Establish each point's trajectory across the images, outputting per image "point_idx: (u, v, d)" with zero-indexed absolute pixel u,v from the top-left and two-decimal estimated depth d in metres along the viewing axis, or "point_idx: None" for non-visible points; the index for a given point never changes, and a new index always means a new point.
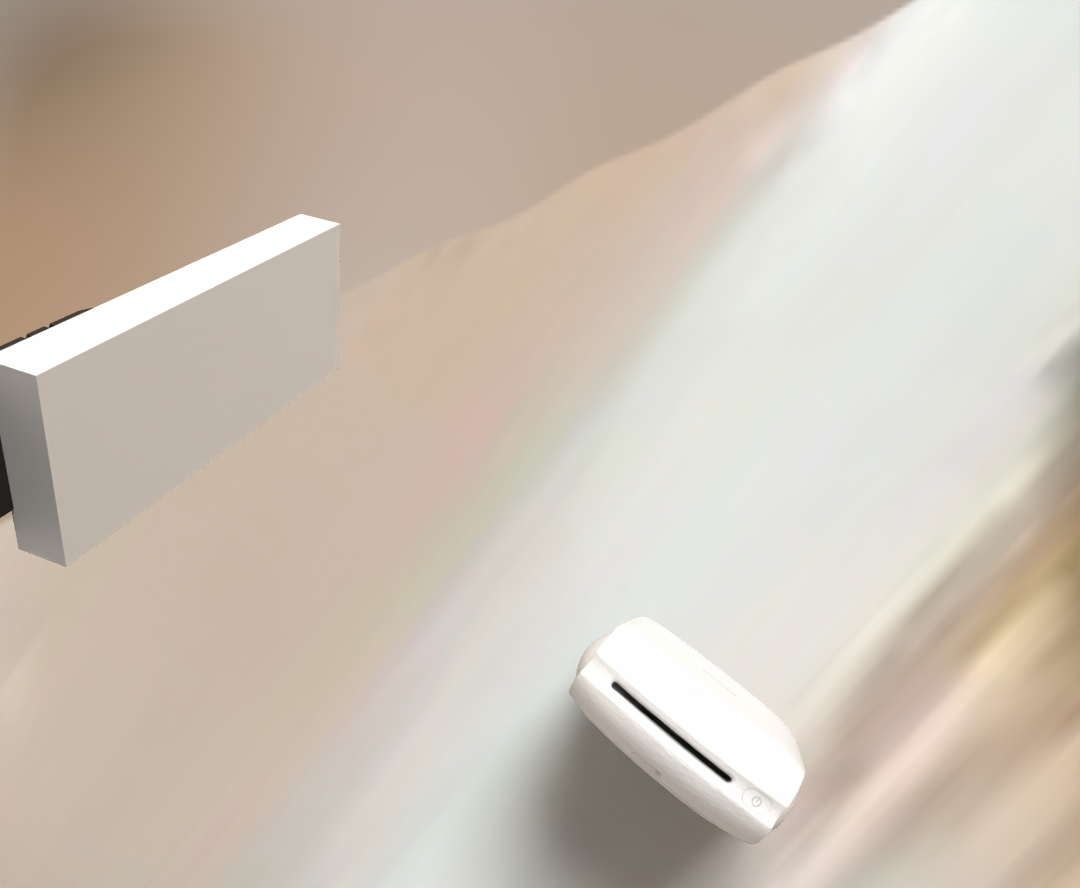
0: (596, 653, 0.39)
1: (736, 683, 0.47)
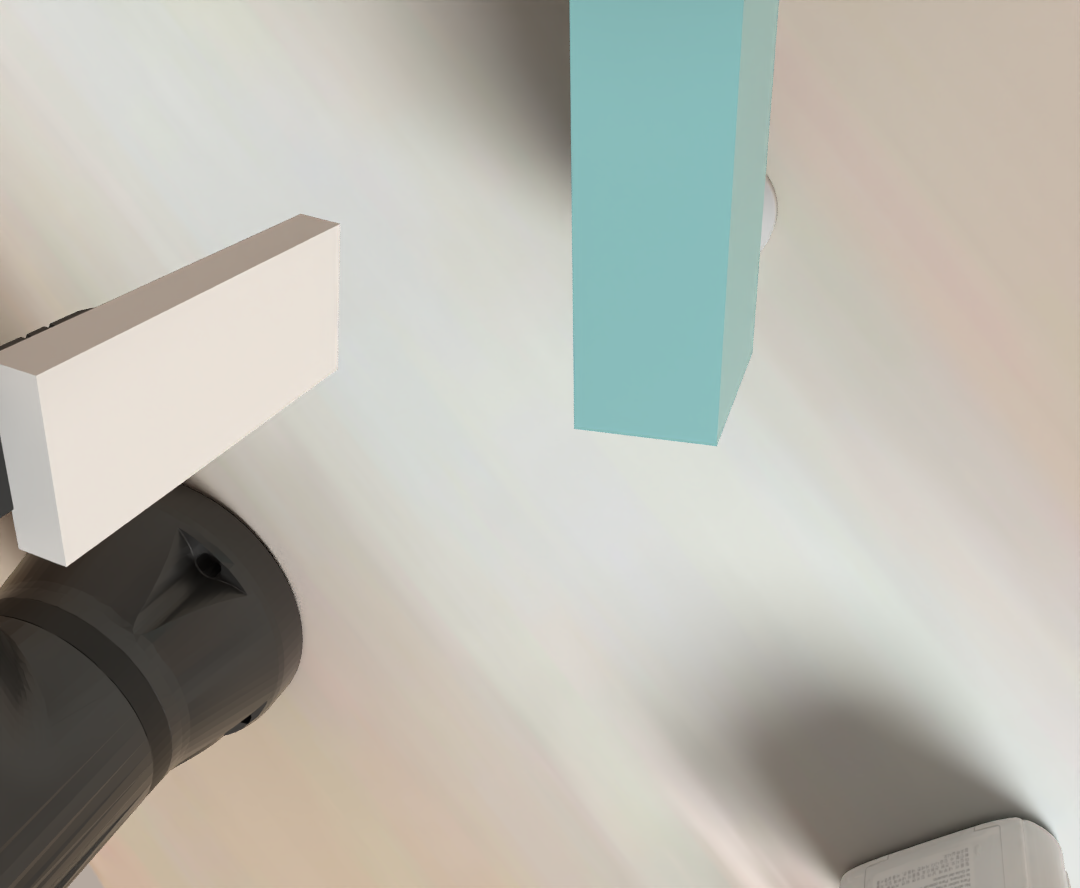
0: None
1: None
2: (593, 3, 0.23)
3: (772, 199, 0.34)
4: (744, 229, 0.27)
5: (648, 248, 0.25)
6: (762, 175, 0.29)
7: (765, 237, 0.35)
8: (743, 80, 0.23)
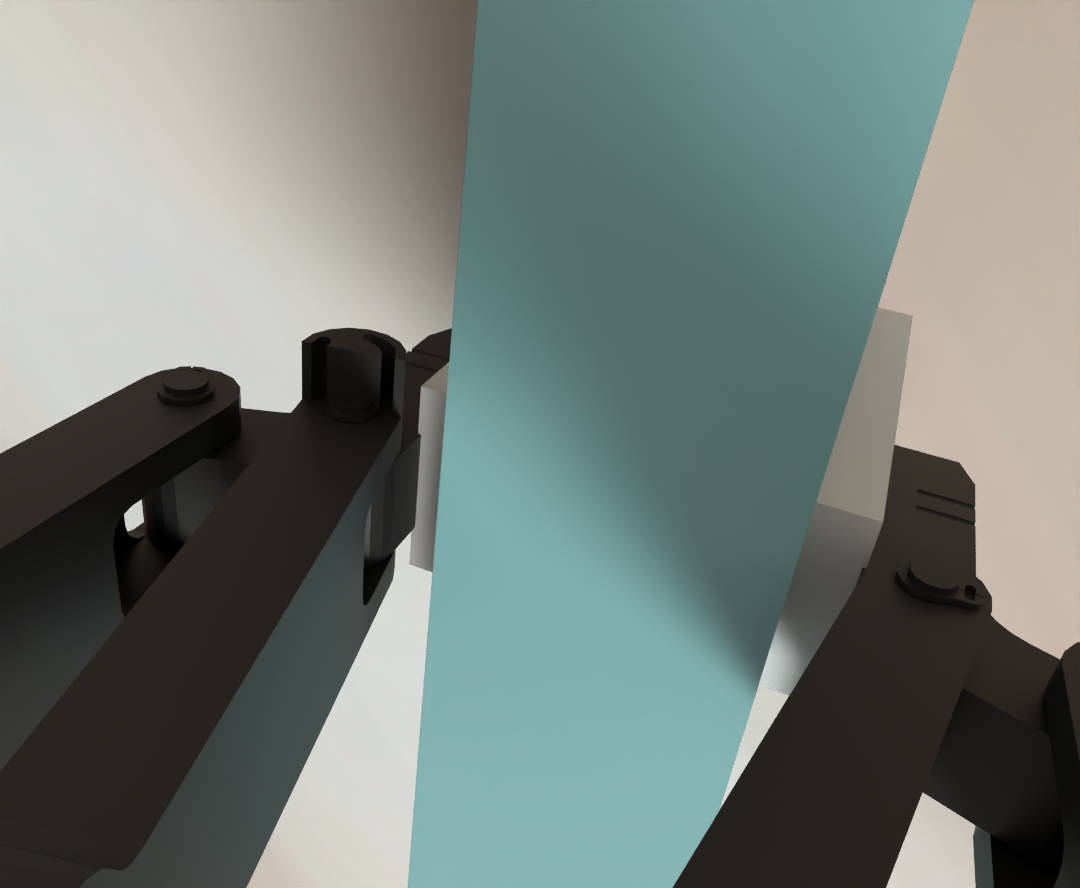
0: None
1: None
2: (505, 316, 0.10)
3: None
4: None
5: (563, 754, 0.13)
6: None
7: None
8: None
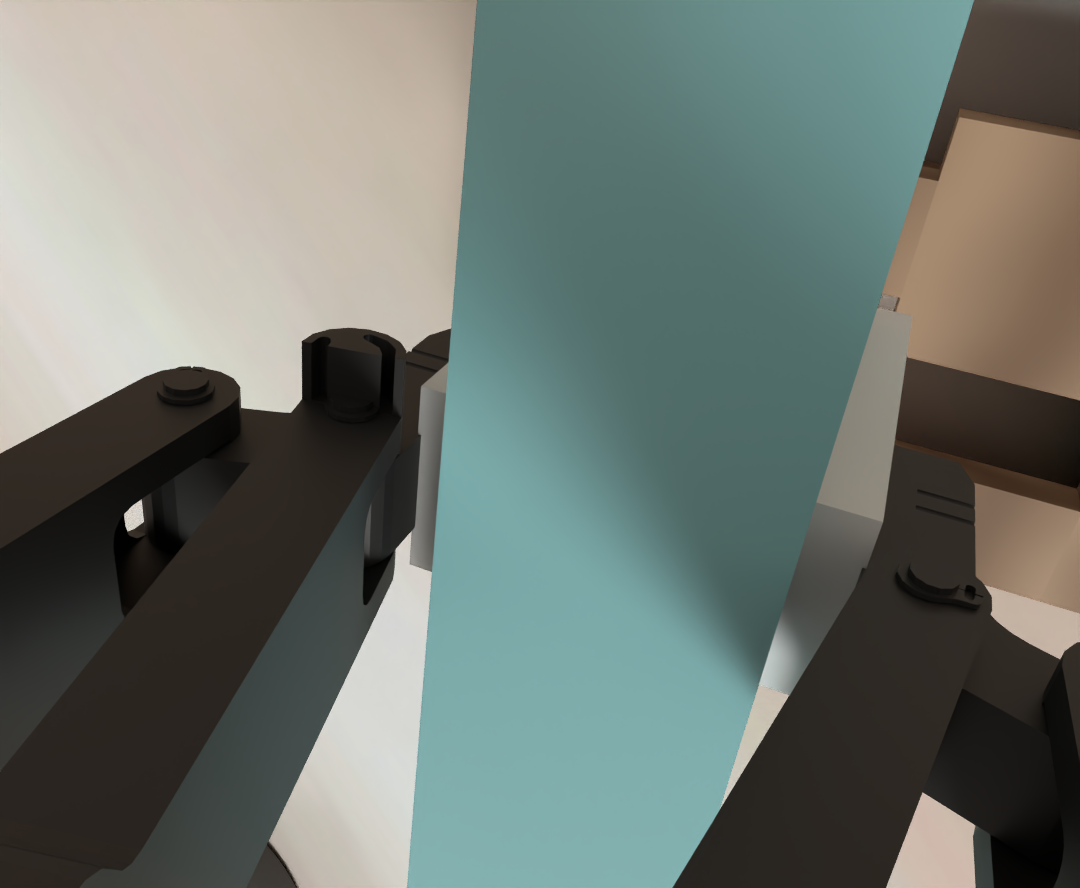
0: None
1: None
2: (504, 316, 0.10)
3: None
4: None
5: (563, 755, 0.13)
6: None
7: None
8: None
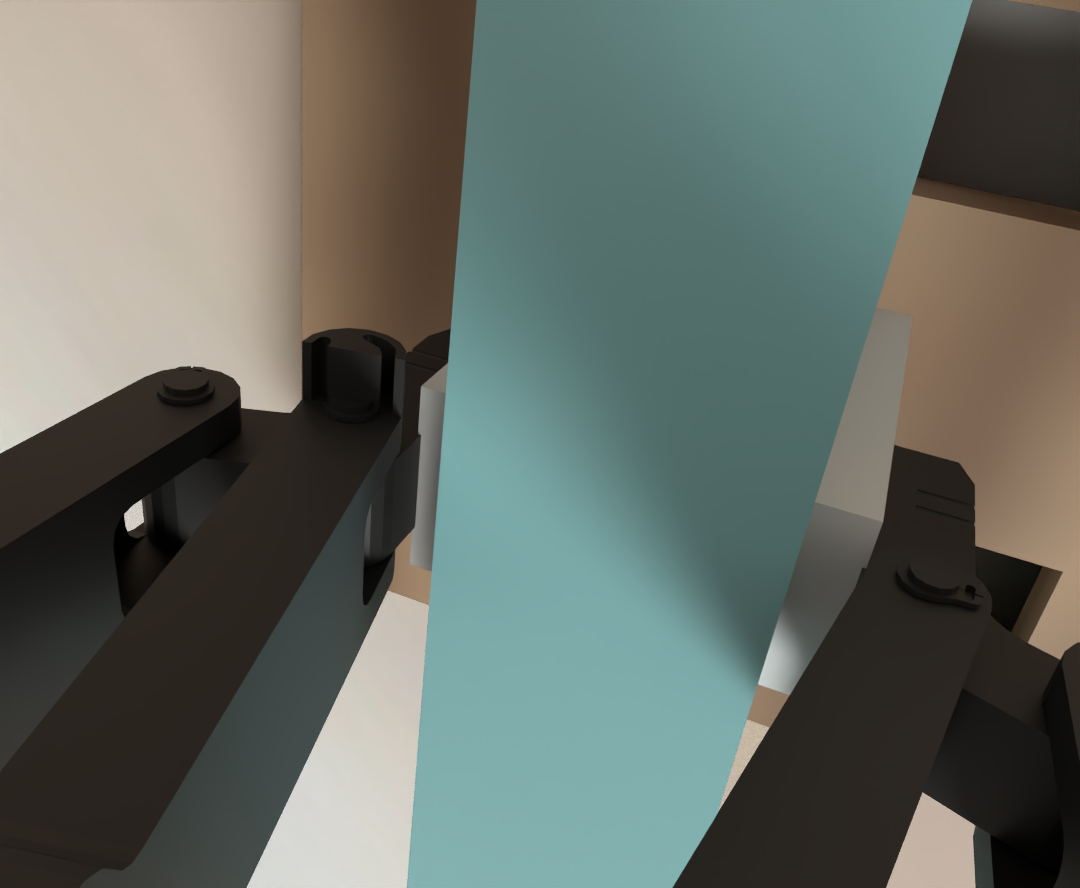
0: None
1: None
2: (505, 316, 0.10)
3: None
4: None
5: (563, 753, 0.13)
6: None
7: None
8: None
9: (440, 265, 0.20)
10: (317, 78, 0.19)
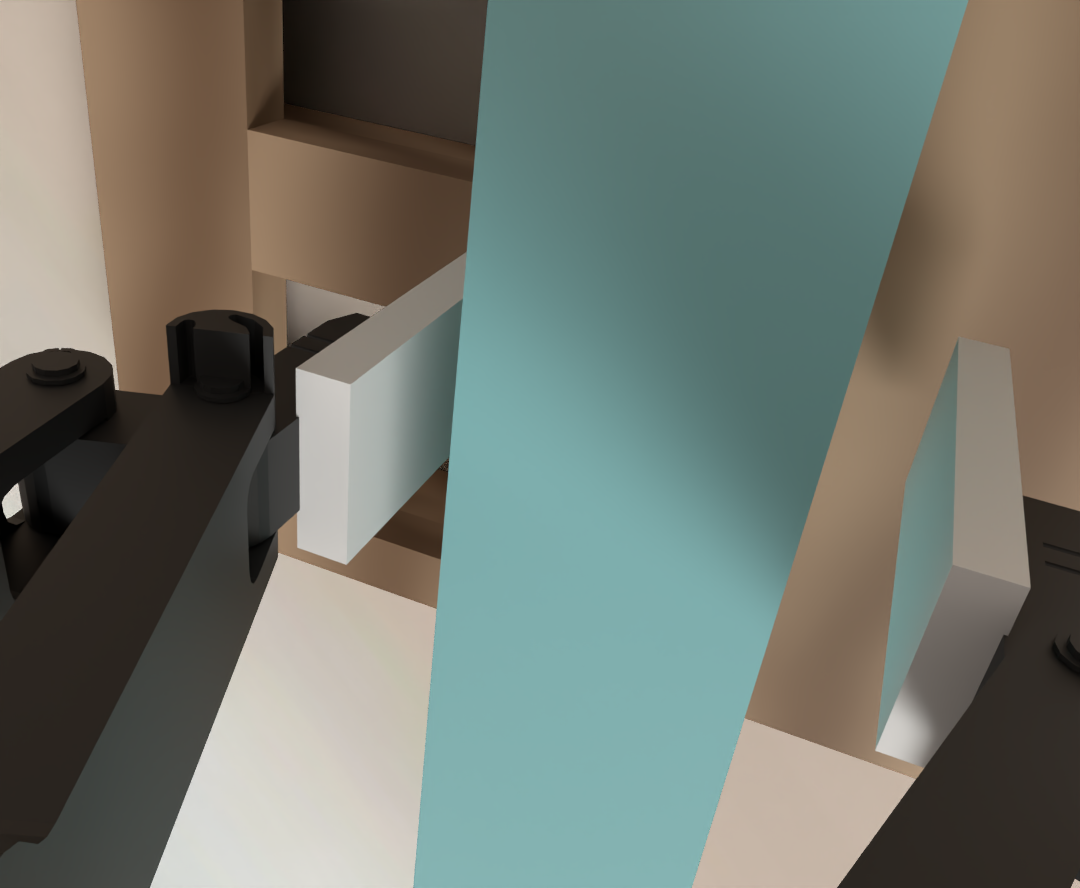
0: None
1: None
2: (513, 308, 0.10)
3: None
4: None
5: (569, 739, 0.13)
6: None
7: None
8: None
9: (217, 208, 0.21)
10: (92, 30, 0.20)
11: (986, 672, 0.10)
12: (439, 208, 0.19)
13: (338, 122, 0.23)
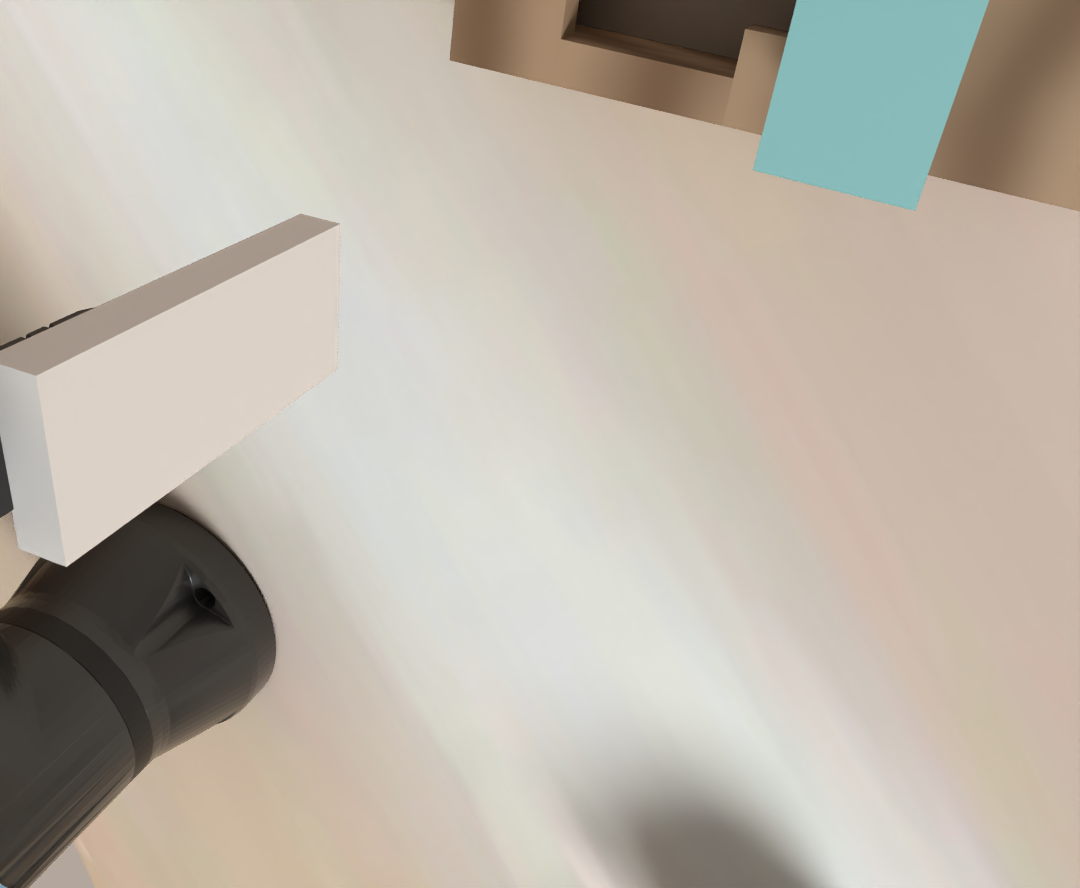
0: None
1: None
2: None
3: None
4: None
5: None
6: None
7: None
8: None
9: None
10: None
11: None
12: None
13: None
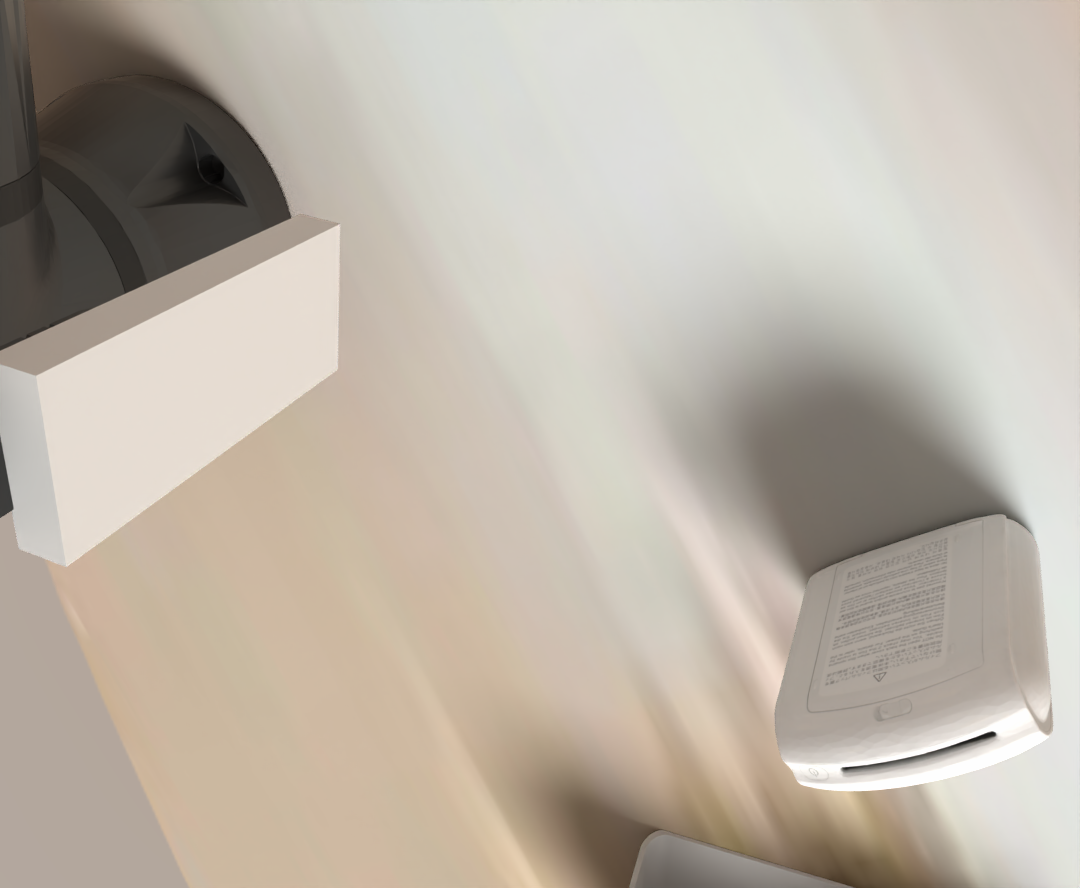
0: (1037, 730, 0.34)
1: None
2: None
3: None
4: None
5: None
6: None
7: None
8: None
9: None
10: None
11: None
12: None
13: None
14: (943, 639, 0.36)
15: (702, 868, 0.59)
